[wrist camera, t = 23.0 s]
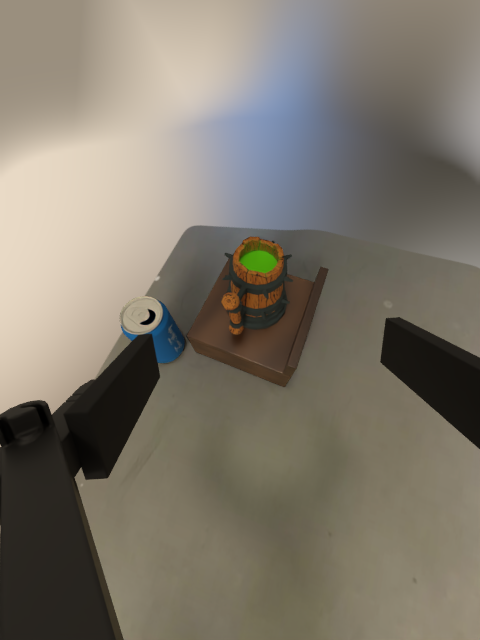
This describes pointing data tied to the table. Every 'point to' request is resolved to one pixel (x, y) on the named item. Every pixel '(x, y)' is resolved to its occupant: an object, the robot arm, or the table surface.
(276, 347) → the brown wooden box
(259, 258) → the mug
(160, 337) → the beverage can
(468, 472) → the table surface
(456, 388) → the robot arm
